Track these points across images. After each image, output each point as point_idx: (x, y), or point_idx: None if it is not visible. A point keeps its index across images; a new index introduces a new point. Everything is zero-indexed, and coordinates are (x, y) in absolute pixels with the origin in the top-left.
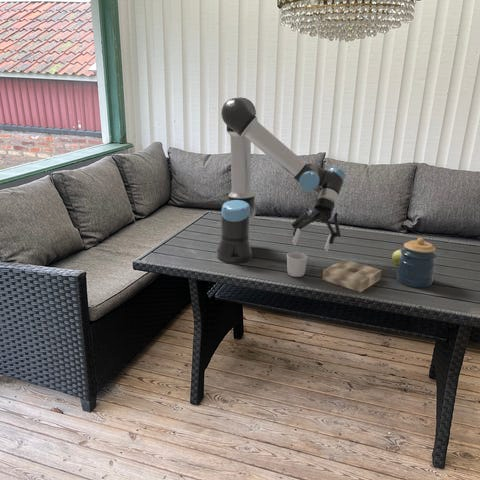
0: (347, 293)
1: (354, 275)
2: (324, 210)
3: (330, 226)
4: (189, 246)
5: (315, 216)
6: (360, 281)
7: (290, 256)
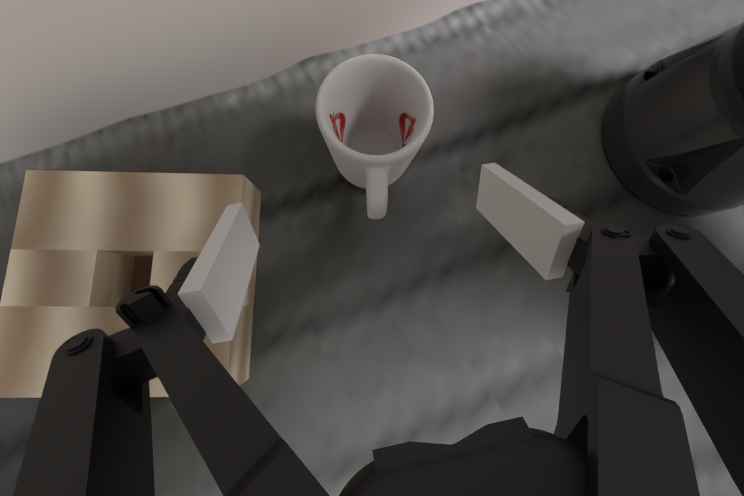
0: (119, 144)
1: (85, 217)
2: None
3: (185, 387)
4: None
5: (577, 493)
6: (34, 171)
7: (418, 117)
